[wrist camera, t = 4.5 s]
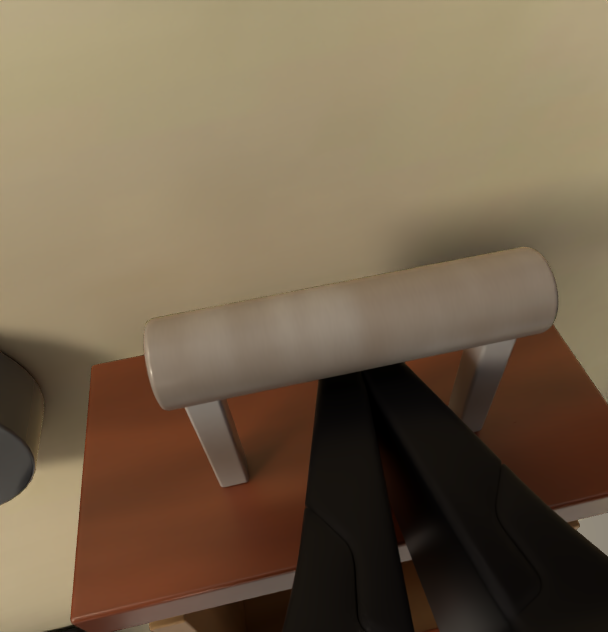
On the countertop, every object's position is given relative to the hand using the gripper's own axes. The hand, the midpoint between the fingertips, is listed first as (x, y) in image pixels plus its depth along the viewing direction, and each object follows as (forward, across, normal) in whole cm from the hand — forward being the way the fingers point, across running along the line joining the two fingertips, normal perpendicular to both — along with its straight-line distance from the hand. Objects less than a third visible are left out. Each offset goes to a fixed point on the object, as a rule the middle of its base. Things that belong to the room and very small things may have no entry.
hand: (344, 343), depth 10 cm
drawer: (+3, 0, +7) cm, 7 cm away
